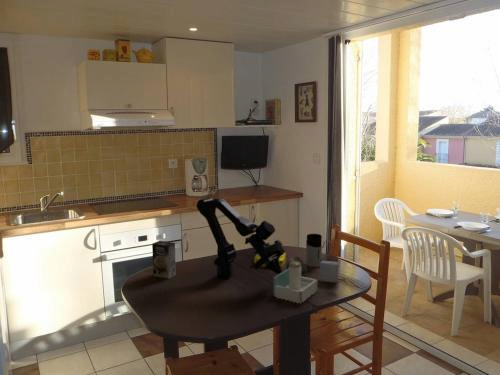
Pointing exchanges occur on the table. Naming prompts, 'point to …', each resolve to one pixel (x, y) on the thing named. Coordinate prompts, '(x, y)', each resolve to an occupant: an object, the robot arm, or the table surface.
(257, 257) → the yellow box
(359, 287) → the table surface
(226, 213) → the robot arm
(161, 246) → the coffee box
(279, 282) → the white and teal drawer
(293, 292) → the dock housing
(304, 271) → the fossil
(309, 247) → the glass holder
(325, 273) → the medicine box
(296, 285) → the salt jar
